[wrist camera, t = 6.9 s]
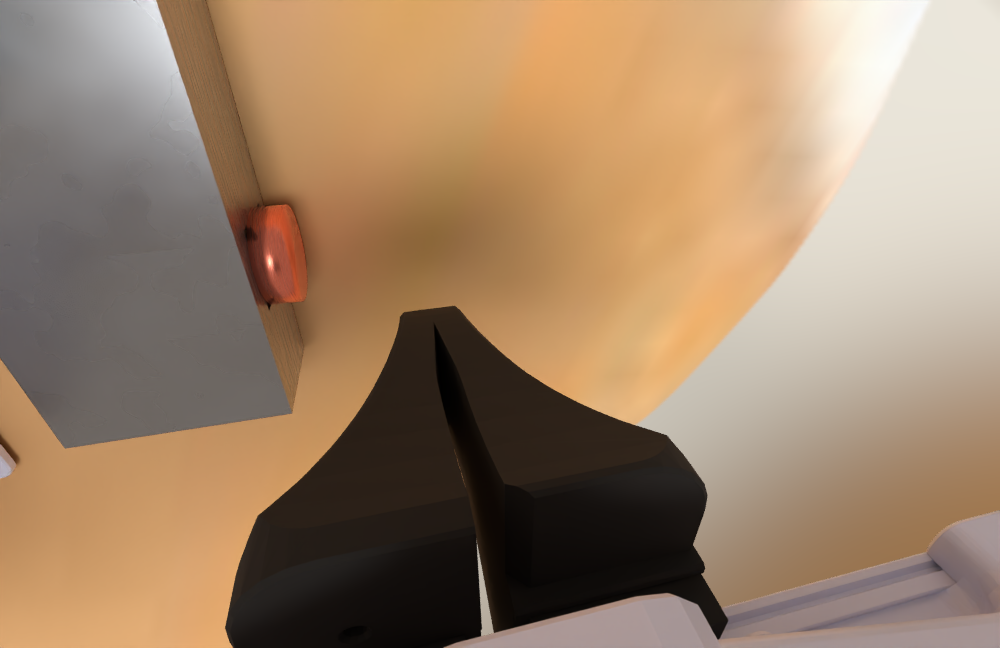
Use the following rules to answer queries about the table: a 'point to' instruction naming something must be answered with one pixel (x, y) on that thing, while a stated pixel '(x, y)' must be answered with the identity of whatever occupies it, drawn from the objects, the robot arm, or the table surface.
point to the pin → (276, 254)
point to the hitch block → (130, 226)
